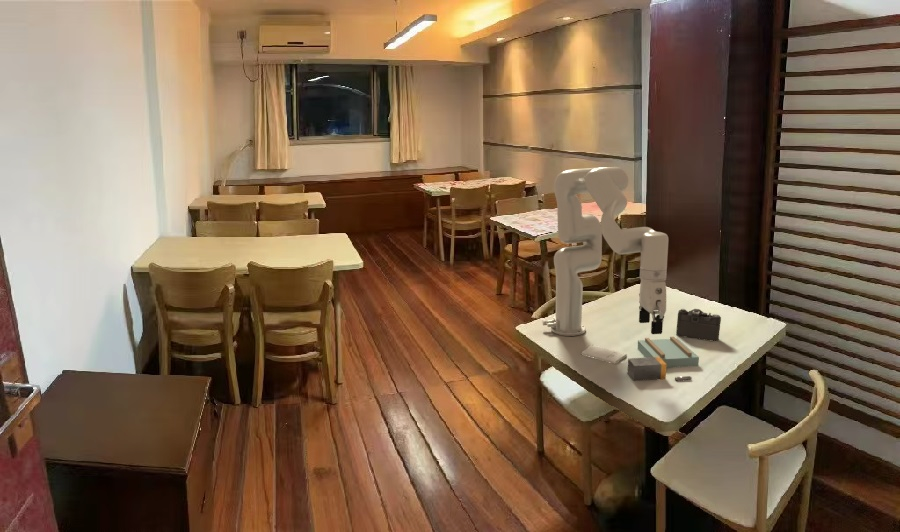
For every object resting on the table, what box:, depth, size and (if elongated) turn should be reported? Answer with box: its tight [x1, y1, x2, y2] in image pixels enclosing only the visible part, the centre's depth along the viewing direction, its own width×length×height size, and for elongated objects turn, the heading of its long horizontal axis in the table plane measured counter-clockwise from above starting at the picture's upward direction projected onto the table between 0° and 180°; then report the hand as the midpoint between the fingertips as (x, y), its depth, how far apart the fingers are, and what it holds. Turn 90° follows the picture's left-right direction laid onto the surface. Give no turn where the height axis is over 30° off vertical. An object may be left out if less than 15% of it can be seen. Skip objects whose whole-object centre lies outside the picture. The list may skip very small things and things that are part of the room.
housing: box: [626, 357, 667, 382], centre depth 197 cm, size 10×6×5 cm, turn 94°
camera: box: [675, 308, 722, 342], centre depth 228 cm, size 14×11×10 cm
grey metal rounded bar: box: [674, 375, 693, 382], centre depth 195 cm, size 5×1×1 cm, turn 94°
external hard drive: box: [581, 344, 628, 365], centre depth 214 cm, size 2×8×12 cm
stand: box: [637, 336, 700, 369], centre depth 211 cm, size 14×16×4 cm
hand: (650, 328), depth 193 cm, fingers open, 9 cm apart
